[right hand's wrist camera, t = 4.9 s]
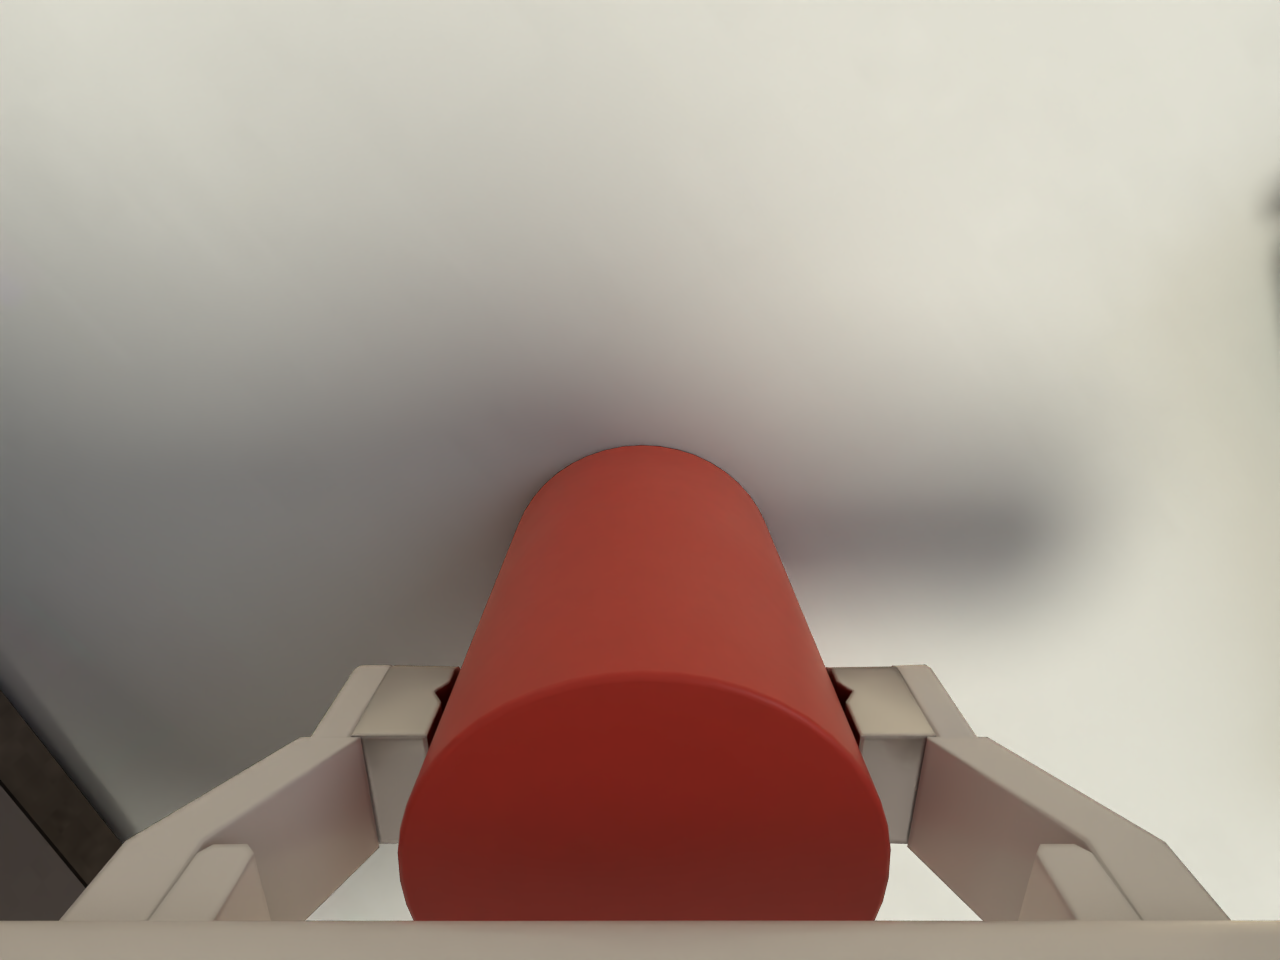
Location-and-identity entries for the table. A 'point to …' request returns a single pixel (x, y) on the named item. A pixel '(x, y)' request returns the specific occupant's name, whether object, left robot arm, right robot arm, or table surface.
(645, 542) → the canister
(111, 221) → the table surface
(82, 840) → the toy
